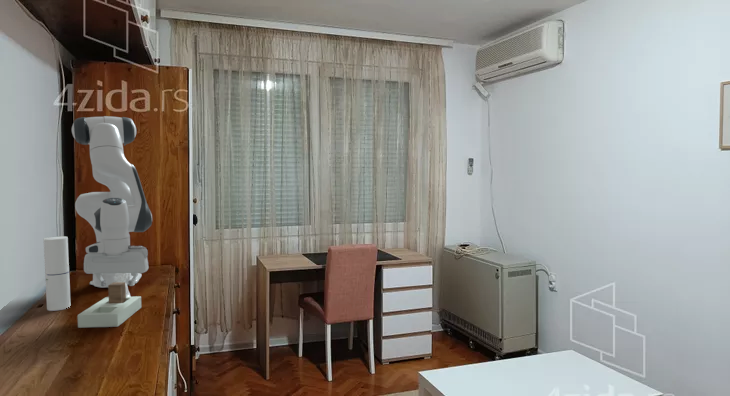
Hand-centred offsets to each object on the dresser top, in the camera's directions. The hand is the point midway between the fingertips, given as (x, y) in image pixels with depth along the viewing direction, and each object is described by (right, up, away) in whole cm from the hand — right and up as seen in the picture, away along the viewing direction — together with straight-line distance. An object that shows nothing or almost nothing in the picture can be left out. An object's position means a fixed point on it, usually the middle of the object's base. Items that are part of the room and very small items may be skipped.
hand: (117, 285), depth 167 cm
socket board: (+1, -10, -5) cm, 11 cm away
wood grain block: (0, -9, 0) cm, 9 cm away
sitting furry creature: (-5, -9, +12) cm, 16 cm away
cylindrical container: (-23, -9, +5) cm, 26 cm away
